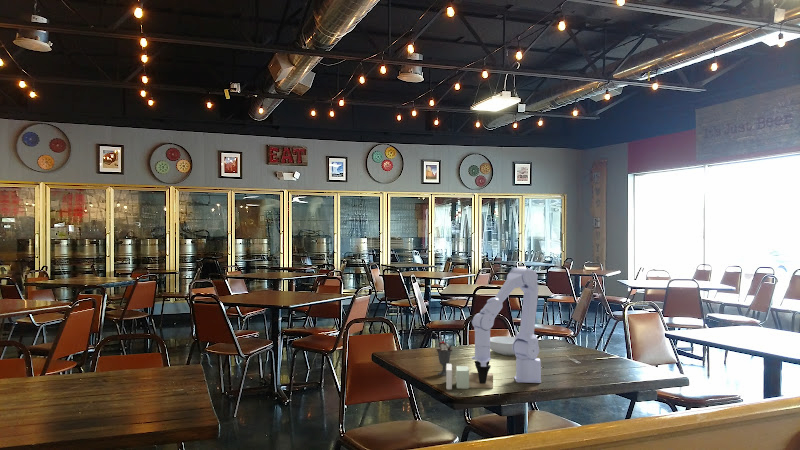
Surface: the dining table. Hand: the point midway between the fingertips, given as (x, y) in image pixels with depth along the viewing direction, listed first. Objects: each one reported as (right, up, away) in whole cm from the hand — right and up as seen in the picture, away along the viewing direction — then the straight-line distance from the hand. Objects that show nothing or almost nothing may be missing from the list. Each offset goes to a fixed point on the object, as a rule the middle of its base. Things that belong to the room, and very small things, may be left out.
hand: (482, 381), depth 217 cm
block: (-7, -2, +1) cm, 8 cm away
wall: (-12, -2, +1) cm, 13 cm away
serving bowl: (+22, -3, +61) cm, 65 cm away
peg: (-2, -2, 0) cm, 3 cm away
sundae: (-13, -2, +19) cm, 23 cm away
